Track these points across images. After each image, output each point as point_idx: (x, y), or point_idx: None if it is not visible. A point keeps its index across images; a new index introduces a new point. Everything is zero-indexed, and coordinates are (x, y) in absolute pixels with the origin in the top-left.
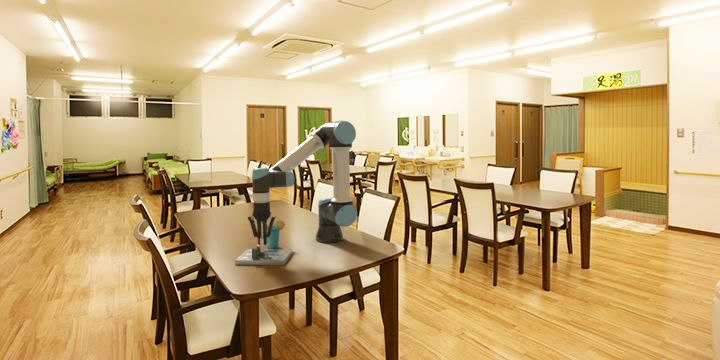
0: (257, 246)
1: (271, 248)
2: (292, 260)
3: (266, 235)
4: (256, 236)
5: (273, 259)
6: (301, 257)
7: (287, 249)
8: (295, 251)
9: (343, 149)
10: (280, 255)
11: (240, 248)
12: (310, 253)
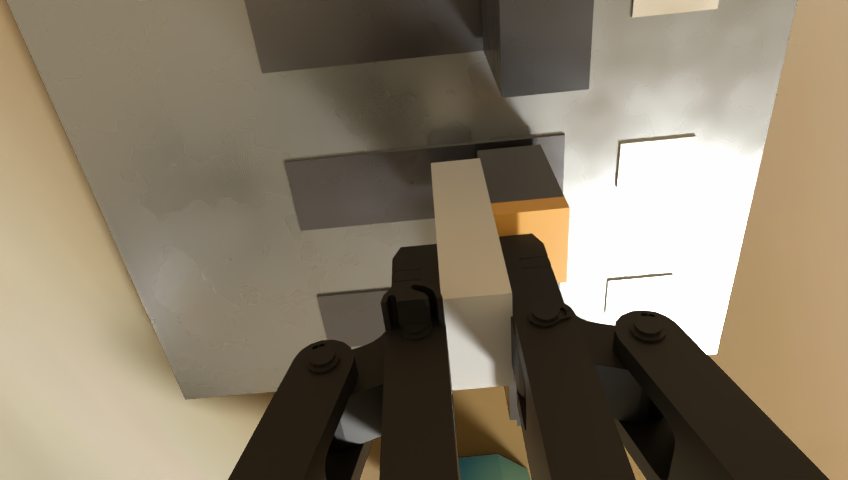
0: (542, 204)
1: (484, 456)
2: (37, 140)
3: (377, 376)
4: (610, 336)
5: None
6: (9, 259)
7: (238, 389)
8: (204, 417)
9: None
10: (189, 172)
11: (801, 426)
12: (10, 385)
